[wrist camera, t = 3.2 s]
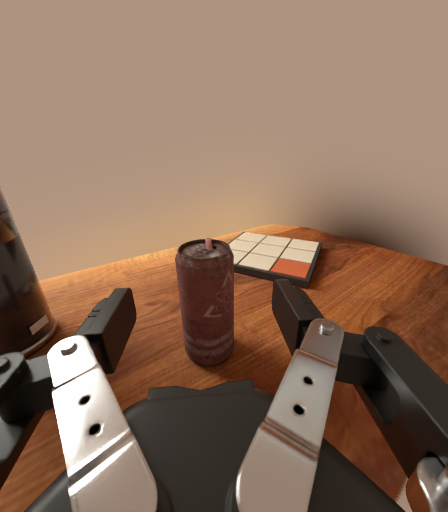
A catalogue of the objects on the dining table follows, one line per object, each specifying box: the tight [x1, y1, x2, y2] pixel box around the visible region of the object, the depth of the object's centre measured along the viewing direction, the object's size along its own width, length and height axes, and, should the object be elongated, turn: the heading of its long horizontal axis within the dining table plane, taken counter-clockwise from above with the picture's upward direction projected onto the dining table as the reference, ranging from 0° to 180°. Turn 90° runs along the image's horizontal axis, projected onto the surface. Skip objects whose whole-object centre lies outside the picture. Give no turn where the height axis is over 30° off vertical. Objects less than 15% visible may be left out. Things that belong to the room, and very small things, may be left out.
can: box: [175, 238, 234, 366], centre depth 26 cm, size 6×6×14 cm
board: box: [228, 232, 322, 288], centre depth 55 cm, size 22×22×2 cm
